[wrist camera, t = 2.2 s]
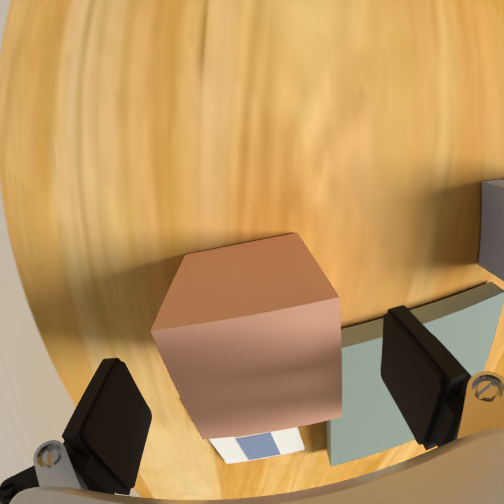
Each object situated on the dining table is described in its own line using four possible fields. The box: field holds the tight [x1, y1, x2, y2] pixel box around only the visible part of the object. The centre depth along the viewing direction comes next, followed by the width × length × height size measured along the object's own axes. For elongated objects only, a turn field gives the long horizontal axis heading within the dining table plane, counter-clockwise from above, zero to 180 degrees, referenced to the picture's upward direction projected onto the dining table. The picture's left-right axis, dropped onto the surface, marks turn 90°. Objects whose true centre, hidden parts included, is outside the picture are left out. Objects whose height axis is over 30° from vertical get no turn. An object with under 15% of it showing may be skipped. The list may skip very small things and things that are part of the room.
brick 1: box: [150, 233, 342, 439], centre depth 11 cm, size 5×5×6 cm
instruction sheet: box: [209, 427, 305, 464], centre depth 17 cm, size 8×6×1 cm
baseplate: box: [326, 282, 504, 466], centre depth 16 cm, size 12×12×2 cm
